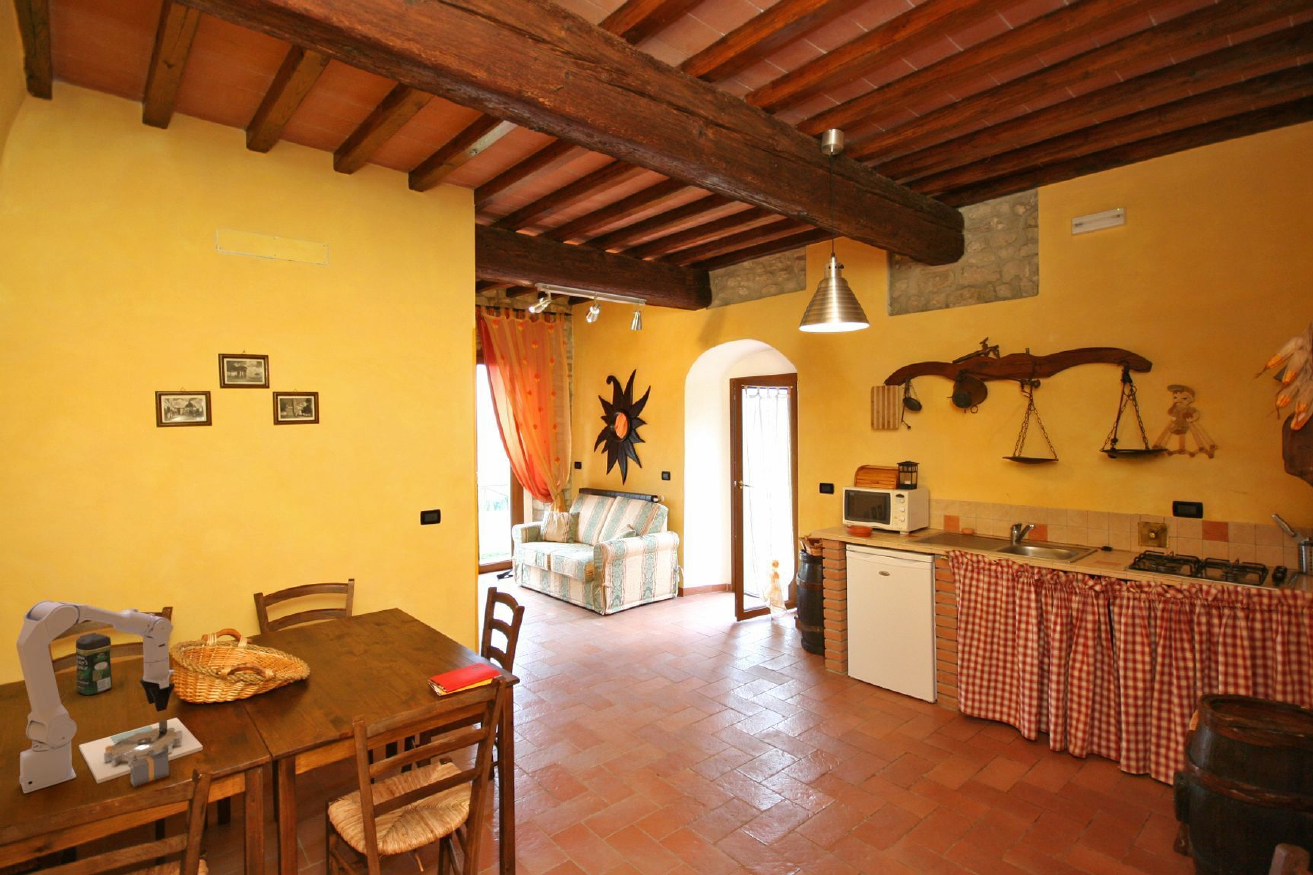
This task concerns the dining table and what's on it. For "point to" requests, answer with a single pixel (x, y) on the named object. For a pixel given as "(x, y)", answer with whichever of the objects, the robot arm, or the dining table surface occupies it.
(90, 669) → the coffee jar
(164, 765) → the link block
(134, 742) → the sprocket
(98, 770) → the sprocket base
